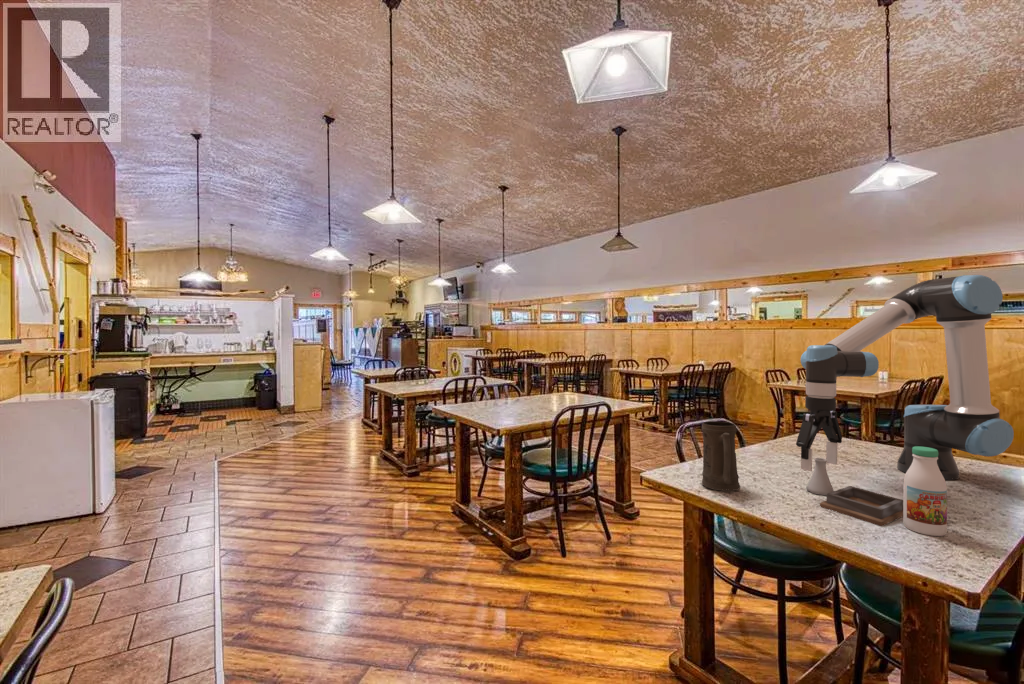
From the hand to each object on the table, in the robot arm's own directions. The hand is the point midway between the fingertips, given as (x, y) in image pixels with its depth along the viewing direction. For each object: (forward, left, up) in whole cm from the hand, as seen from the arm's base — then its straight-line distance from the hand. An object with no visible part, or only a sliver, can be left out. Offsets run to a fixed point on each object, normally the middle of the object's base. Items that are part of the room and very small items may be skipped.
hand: (819, 466), depth 131 cm
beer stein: (+23, -16, -8) cm, 29 cm away
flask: (0, 0, -8) cm, 8 cm away
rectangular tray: (+4, +13, -8) cm, 16 cm away
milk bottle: (+5, +26, -8) cm, 28 cm away
